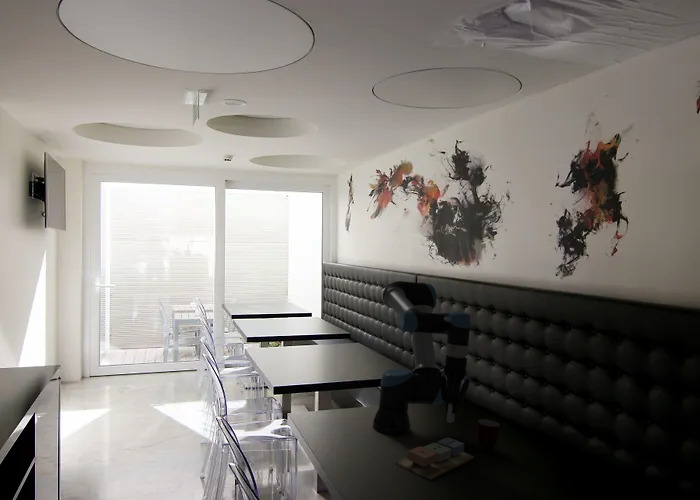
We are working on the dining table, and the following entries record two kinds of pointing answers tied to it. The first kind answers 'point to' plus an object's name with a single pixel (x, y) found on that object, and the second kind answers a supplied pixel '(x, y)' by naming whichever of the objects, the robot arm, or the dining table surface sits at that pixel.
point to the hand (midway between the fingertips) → (450, 421)
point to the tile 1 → (422, 456)
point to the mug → (487, 434)
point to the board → (435, 465)
